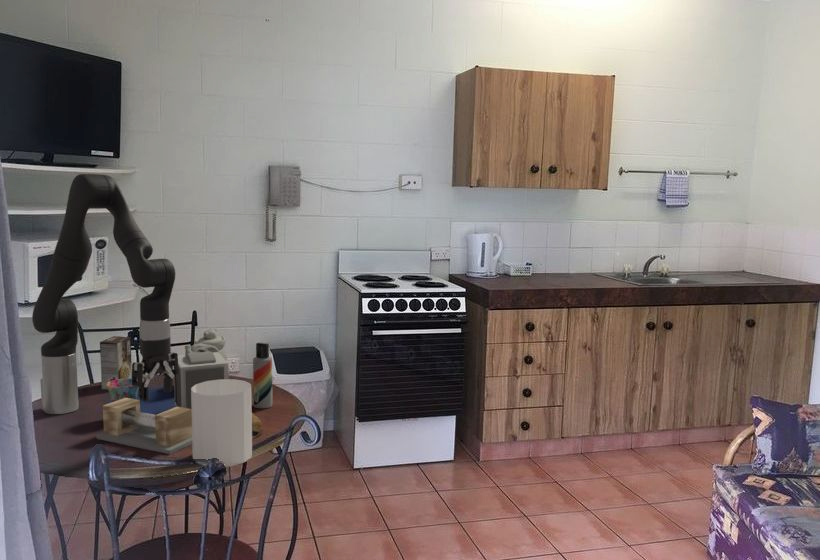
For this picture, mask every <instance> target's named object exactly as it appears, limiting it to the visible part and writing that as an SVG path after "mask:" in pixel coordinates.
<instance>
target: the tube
mask: <svg viewBox="0 0 820 560" xmlns="http://www.w3.org/2000/svg"><path fill="white" fill-rule="evenodd" d="M155 415H156V414H152V413H147V412H142V411H140V412H137V411H132V410H125V411H124V412H123V413H122V414H121V420H122V424H124V425H129V426H134V427H139V428H144V429H149V430H154V431H155Z"/></svg>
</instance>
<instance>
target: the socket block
mask: <svg viewBox="0 0 820 560" xmlns="http://www.w3.org/2000/svg"><path fill="white" fill-rule="evenodd" d="M154 415H155V435H156V444H159V445H164V446H169V447H172V446H174V445H176V444H178V443H181V442H183V441H185V440H187V439H189V438H191V437H192V409H187V408H182V407H175V406H174V407H172V408H170V409H168V410H165V411H162V412H160V413H157V414H154Z"/></svg>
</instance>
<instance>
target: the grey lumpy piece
mask: <svg viewBox="0 0 820 560" xmlns="http://www.w3.org/2000/svg"><path fill="white" fill-rule="evenodd" d="M225 344H226V338H225V337H223V336H220V335H218V334H217V328H215V327H213V329H211V328H209V329H206V330H205V331H204V332H203V336H200V337H197V338H196V339H195V340H194V343H193V345H190V344H187V345H185V346H184V349H185V353H184V355H185V354H187V353H197V352H209V351H211V352H212V353H214V352H219V353H220V354H221V356H222V357H223V358H224V359H225V360H226V361H227V362H228V356H227V355H228V354H227V351H226V349H225Z"/></svg>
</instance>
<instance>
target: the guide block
mask: <svg viewBox="0 0 820 560" xmlns="http://www.w3.org/2000/svg"><path fill="white" fill-rule="evenodd" d="M125 410H132V411H137V412H141V400H140V399H137V400H136V399H131V398H124V399H121V400H118V401H115V402H110V403H109V402H108V403H106V404H104V405H102V418H103V419H102V420H103V432H104V433H106V434H111V435H116V436H119V435H122V434H124V433H127V432H129V431H132V430H134V429H137V428H139V427H134V426H129V425H124V424H122V420H121V411H123V412H124V411H125Z"/></svg>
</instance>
